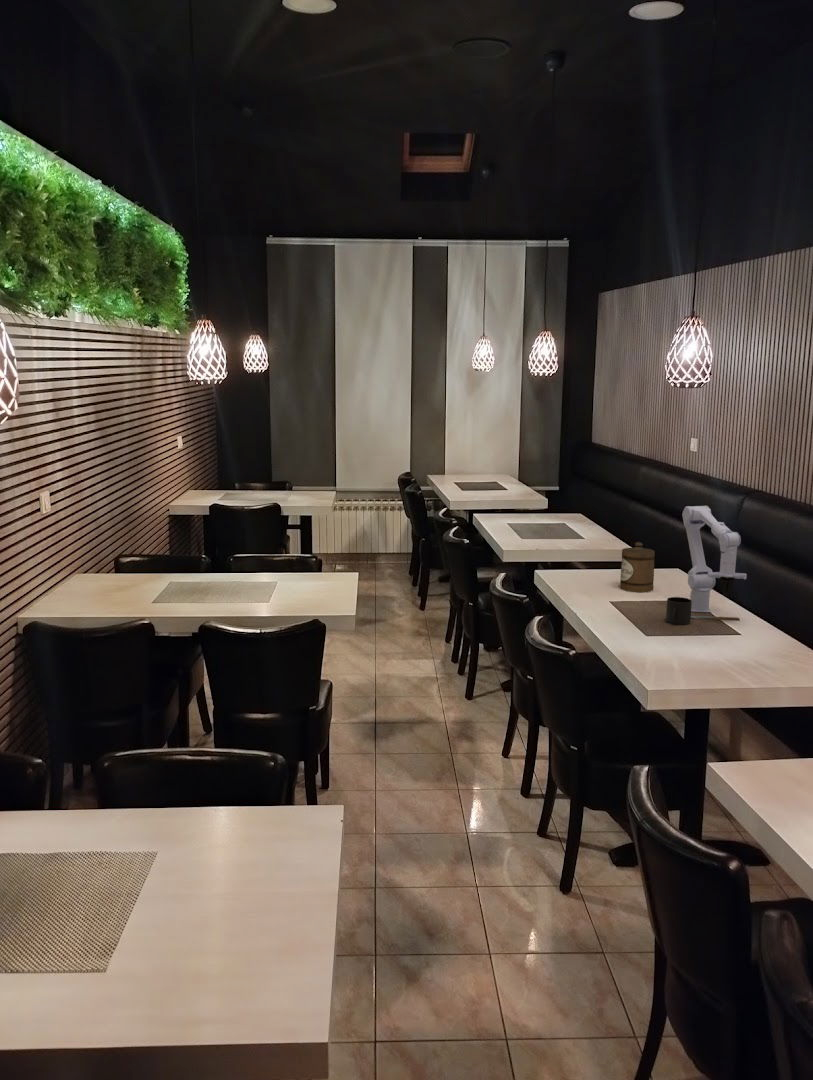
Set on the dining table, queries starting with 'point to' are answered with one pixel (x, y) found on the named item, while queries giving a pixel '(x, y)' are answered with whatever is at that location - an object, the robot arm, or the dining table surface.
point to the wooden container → (637, 569)
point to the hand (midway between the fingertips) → (725, 595)
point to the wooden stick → (715, 618)
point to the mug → (678, 610)
